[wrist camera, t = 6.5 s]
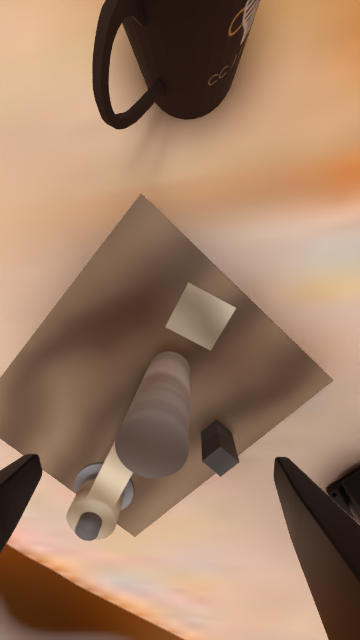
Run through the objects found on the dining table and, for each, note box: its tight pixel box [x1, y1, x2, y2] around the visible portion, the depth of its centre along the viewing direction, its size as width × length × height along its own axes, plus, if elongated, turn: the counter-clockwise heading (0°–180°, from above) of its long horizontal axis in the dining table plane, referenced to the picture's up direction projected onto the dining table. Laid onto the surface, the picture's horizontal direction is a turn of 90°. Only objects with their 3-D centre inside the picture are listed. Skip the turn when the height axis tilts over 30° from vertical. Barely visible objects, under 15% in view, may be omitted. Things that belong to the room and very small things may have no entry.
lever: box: [67, 351, 191, 541], centre depth 14 cm, size 20×4×8 cm, turn 154°
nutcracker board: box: [0, 194, 333, 537], centre depth 18 cm, size 21×26×4 cm
